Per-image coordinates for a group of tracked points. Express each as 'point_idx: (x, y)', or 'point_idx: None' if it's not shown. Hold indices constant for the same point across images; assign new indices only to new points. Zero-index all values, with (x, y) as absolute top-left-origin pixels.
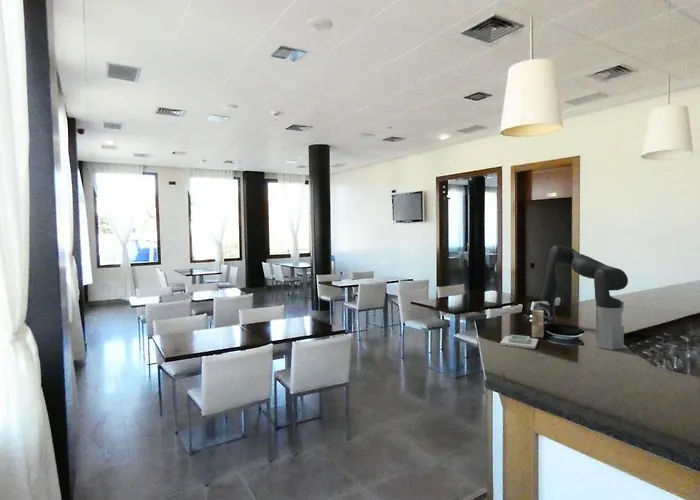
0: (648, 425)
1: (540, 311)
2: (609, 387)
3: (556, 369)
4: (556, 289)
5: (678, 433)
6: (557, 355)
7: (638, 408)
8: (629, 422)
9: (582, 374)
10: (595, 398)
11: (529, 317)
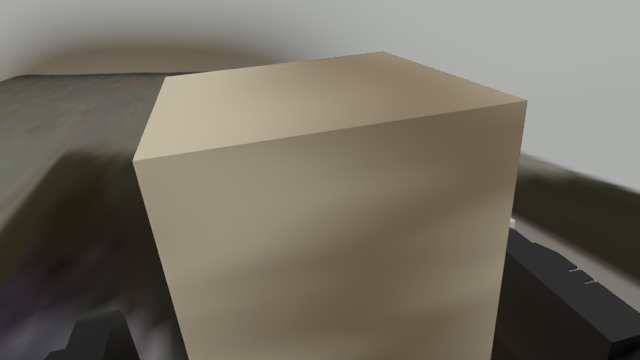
0: (45, 78)
1: (224, 85)
2: (42, 105)
3: (145, 111)
4: None
5: (16, 79)
6: (129, 167)
7: (31, 89)
8: (67, 75)
9: (80, 116)
10: (91, 85)
11: (595, 326)
